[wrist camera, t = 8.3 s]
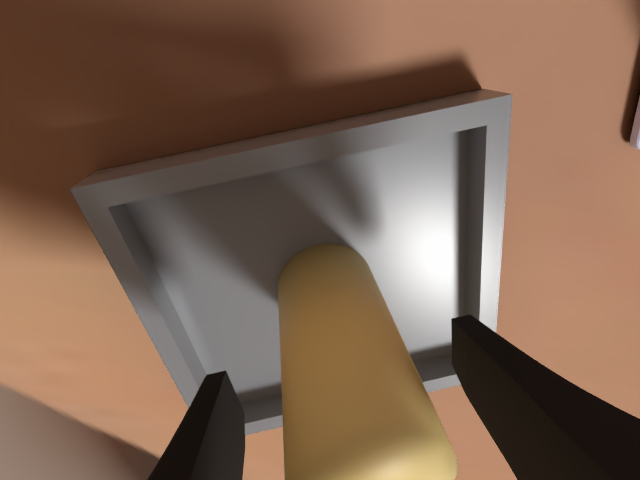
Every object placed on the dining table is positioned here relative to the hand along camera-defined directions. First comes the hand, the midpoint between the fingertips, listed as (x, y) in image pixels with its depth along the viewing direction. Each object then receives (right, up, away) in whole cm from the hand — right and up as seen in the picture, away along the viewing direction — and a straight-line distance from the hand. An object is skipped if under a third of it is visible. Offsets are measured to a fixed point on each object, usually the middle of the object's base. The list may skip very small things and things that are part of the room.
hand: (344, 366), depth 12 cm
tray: (-1, +2, +4) cm, 5 cm away
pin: (-1, +2, +4) cm, 4 cm away
